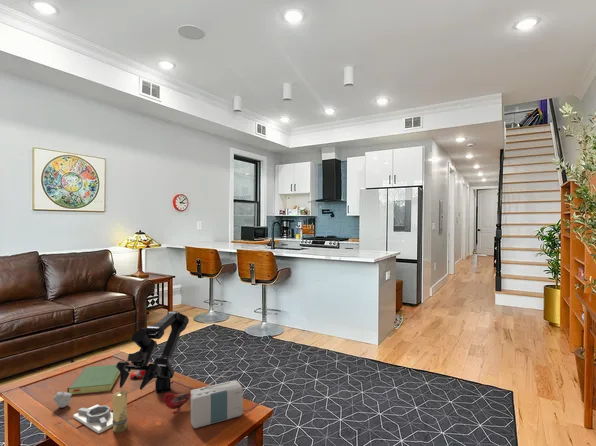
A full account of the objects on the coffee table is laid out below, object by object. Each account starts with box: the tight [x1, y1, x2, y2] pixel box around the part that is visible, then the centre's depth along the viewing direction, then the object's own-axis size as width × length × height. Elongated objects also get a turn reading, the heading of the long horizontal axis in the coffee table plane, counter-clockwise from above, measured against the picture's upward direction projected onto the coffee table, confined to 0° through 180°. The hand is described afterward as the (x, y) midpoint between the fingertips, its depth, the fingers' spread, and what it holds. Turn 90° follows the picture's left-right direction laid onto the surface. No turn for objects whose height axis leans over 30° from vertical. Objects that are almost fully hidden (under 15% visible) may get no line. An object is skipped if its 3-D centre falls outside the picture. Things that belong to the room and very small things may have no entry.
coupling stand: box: [73, 403, 113, 434], centre depth 149 cm, size 10×20×4 cm, turn 57°
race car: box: [129, 370, 145, 380], centre depth 189 cm, size 13×5×4 cm, turn 115°
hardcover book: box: [66, 364, 120, 395], centre depth 182 cm, size 25×19×4 cm
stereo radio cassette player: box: [190, 365, 244, 429], centre depth 149 cm, size 21×8×20 cm, turn 119°
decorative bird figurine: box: [161, 392, 191, 414], centre depth 156 cm, size 3×18×10 cm, turn 139°
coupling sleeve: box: [112, 390, 128, 434], centre depth 142 cm, size 5×5×14 cm
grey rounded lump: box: [53, 391, 73, 409], centre depth 158 cm, size 6×7×7 cm
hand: (130, 388), depth 149 cm, fingers open, 9 cm apart
